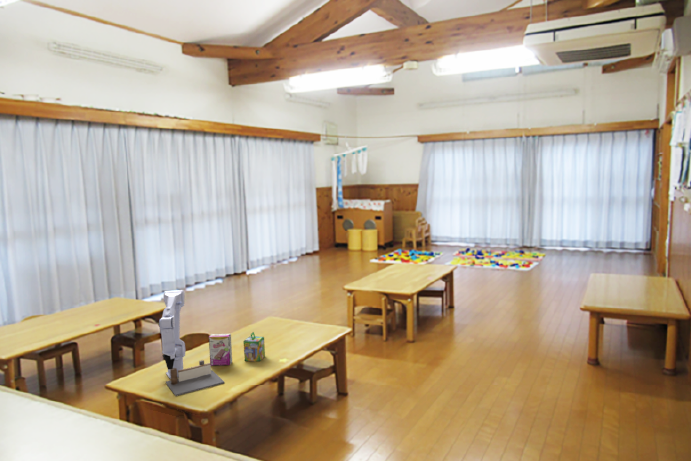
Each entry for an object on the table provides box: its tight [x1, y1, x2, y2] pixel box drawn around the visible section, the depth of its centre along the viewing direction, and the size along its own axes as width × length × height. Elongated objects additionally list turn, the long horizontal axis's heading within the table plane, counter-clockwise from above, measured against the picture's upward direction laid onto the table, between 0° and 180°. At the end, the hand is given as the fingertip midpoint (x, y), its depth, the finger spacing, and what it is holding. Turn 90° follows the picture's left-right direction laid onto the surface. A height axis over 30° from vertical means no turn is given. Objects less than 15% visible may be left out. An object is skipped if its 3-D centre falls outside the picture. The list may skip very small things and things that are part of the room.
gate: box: [177, 362, 212, 382], centre depth 239 cm, size 16×1×5 cm, turn 125°
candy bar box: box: [208, 333, 233, 367], centre depth 258 cm, size 11×5×16 cm, turn 92°
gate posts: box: [170, 359, 205, 385], centre depth 238 cm, size 3×17×8 cm, turn 133°
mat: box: [165, 369, 225, 397], centre depth 235 cm, size 18×24×1 cm
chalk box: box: [243, 331, 266, 362], centre depth 265 cm, size 9×9×15 cm
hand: (170, 368), depth 230 cm, fingers closed
